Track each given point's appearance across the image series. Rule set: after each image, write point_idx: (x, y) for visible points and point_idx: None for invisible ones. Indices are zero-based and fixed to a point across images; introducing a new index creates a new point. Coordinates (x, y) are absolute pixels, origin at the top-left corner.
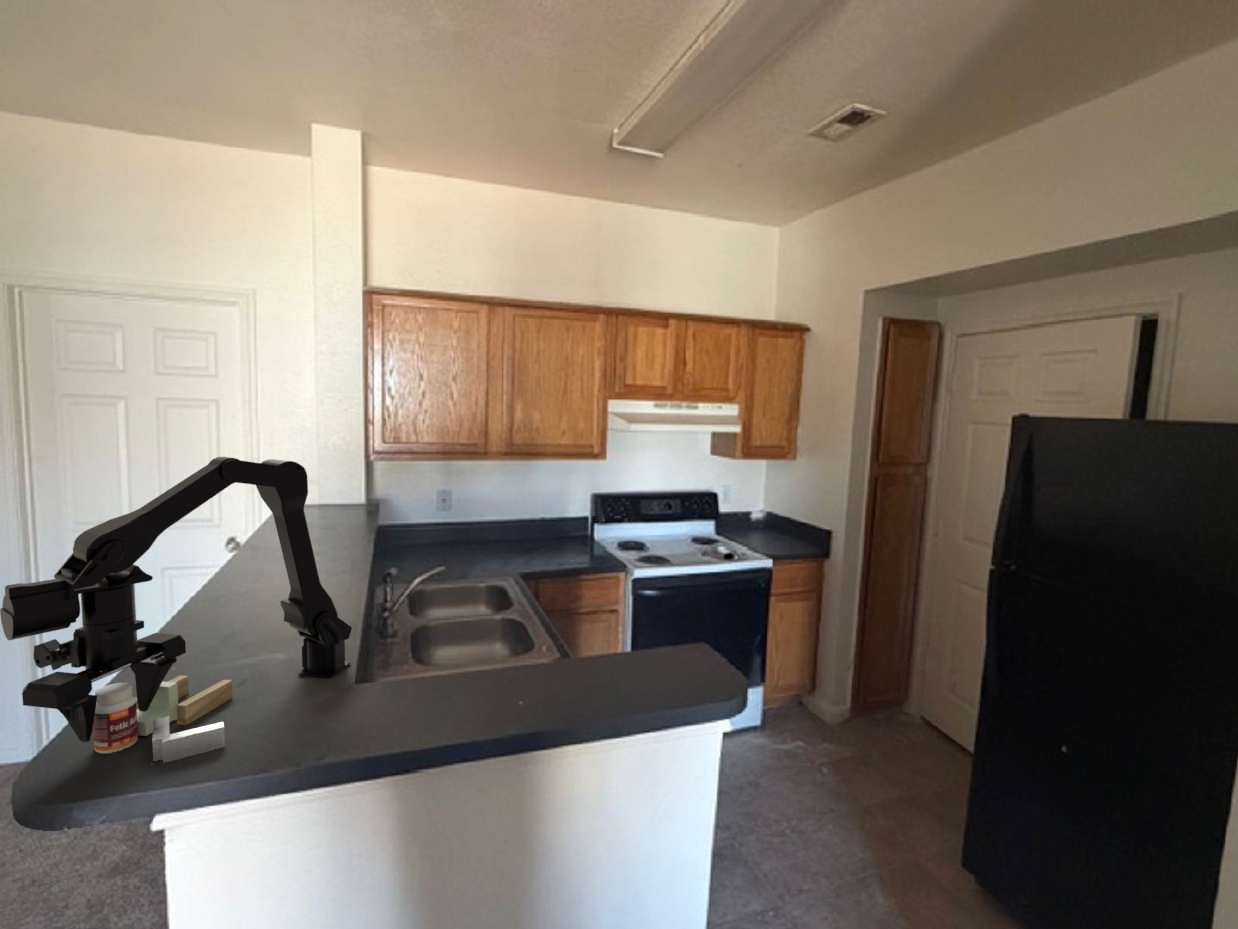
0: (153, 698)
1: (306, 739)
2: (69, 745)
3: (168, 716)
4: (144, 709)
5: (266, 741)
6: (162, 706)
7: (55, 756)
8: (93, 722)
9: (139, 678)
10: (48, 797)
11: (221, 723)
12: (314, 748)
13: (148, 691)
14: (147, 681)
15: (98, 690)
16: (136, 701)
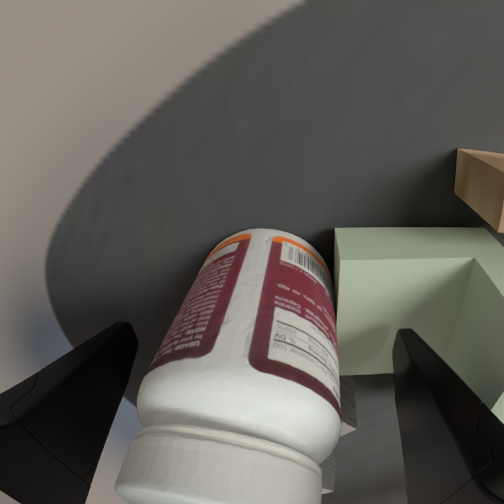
0: (476, 341)
1: (350, 494)
2: (210, 102)
3: (351, 430)
4: (393, 359)
5: (341, 478)
6: (449, 353)
7: (140, 144)
8: (111, 423)
9: (450, 485)
10: (68, 322)
11: (324, 492)
12: (328, 501)
13: (409, 449)
14: (424, 493)
15: (141, 494)
16: (497, 226)
